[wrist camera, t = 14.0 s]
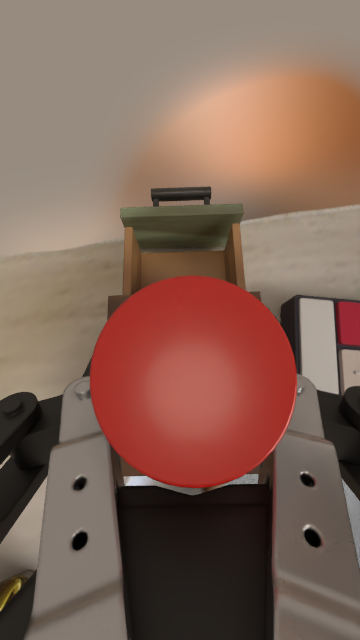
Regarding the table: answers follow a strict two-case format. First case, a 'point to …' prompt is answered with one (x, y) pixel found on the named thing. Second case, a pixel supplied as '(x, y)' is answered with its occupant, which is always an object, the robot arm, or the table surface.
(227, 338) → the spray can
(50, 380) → the table surface
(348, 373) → the calculator
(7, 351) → the table surface
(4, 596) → the ceramic cup
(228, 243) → the drawer
